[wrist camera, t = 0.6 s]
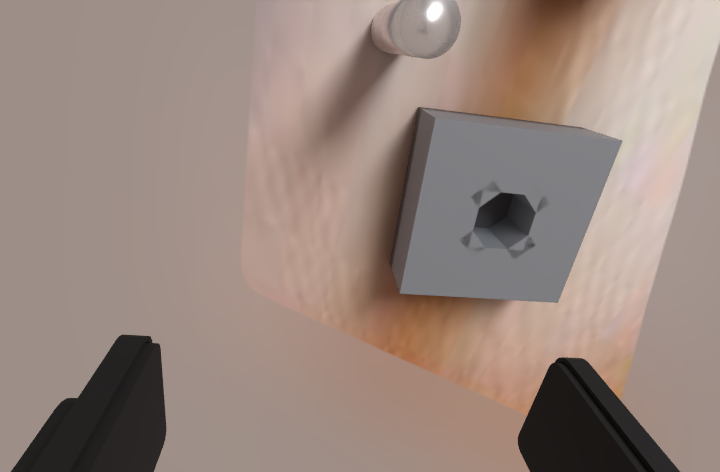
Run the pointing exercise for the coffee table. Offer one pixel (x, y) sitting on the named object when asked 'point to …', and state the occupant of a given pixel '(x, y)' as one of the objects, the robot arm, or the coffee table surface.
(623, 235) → the coffee table surface
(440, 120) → the bore block
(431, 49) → the aluminium pin
